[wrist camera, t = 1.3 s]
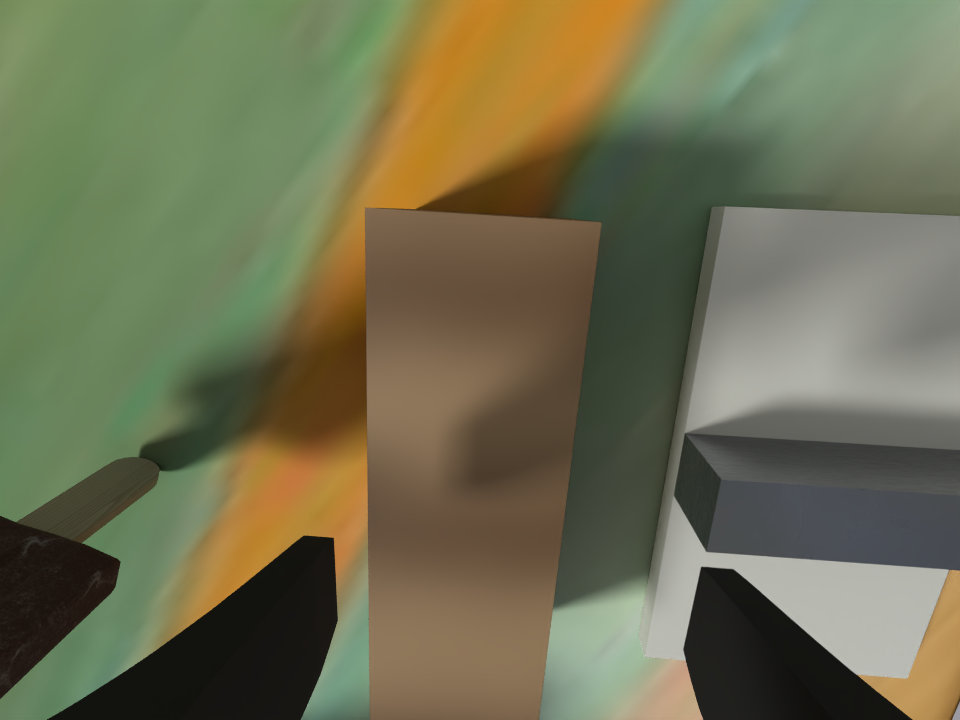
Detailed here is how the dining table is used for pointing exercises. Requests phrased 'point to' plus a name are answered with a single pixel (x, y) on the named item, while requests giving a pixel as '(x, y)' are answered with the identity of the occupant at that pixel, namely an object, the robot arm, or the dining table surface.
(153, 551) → the dining table surface
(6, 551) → the ice cream bar
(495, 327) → the walnut beam
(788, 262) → the fulcrum board
